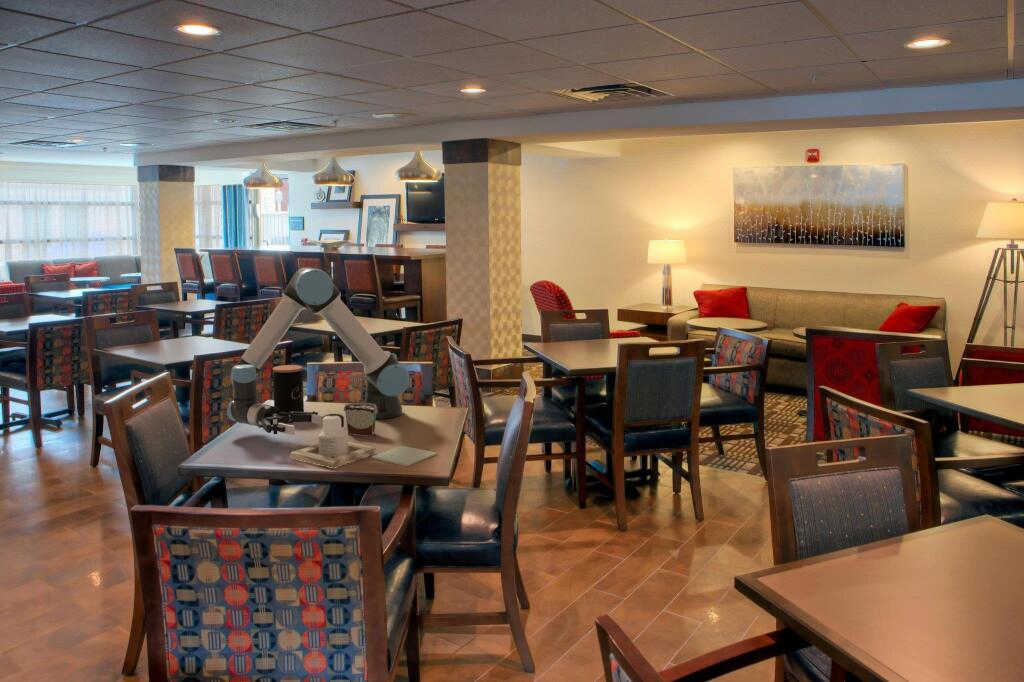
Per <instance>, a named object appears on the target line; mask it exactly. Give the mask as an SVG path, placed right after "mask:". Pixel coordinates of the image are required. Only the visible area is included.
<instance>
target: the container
mask: <svg viewBox="0 0 1024 682" xmlns="http://www.w3.org/2000/svg"><path fill="white" fill-rule="evenodd" d="M322 416H323V417H322V425H321V432H319V435H318V444H319V454H318V455H322V456H326V457H330V458H335V457H338V456H341V455H344V454H347V453H349V452H348V442H349V437H348V436H349V434H348V430H347V428H345V418H344V416H343V414H340V413H328V414H325V415H322Z"/></svg>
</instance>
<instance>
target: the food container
mask: <svg viewBox="0 0 1024 682" xmlns="http://www.w3.org/2000/svg"><path fill="white" fill-rule="evenodd" d="M343 411H344V412H345V420H346V429H347V430H348V435H351V434H356V435H355V436H361V435H364V436H363V437H370V436H373V437H375V433H376V431H375V429H376V420H377V419H376V414H377V413H378V410H377V407H376V405H375V404H371V403H364V402H351V403H347V404H344V407H343Z"/></svg>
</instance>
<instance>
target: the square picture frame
mask: <svg viewBox="0 0 1024 682" xmlns="http://www.w3.org/2000/svg"><path fill="white" fill-rule="evenodd" d="M348 451H349V452H348V453H347V454H344V455H341V456H338V457H335V458H330V457H326V456H322V455H319V454H317V453H319V443H317V444H313V445H310V446H307V447H304V448H303V447H302V448H301V449H297V450H294V451H291V452H290V459H291V458H293V459H292V460H294V459H297V460H296V461H298V460H302V461H306V462H310V463H315V464H320V465H324V466H329V467H333V468H334V467H337V466H340V465H344V464H346V465H348V464H347V463H349V464H351V463H350V462H352V463H354V462H353V461H355V462H357V461H356V460H358V461H360V460H359V459H361V460H363V459H366V458H368V456H369V457H372V456H374V454H375V455H377V447H373V446H369V445H364V444H360V443H355V442H351V441H348ZM371 455H372V456H371ZM365 457H366V458H365ZM362 458H363V459H362ZM302 461H301V462H302ZM306 462H305V463H306ZM310 463H309V464H310ZM344 466H345V465H344Z"/></svg>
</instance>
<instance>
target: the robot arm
mask: <svg viewBox="0 0 1024 682" xmlns="http://www.w3.org/2000/svg"><path fill="white" fill-rule="evenodd" d="M341 295H342V294H341V291H340V290H339V289H338V288H337V286H336V285H335V284H334V282H333V280H332V278H331V277H330V275H329V274H328V273H327V272H326V271H325V270H322V269H320V268H316V267H314V266H305V267H304V266H303V267H302V268H299V269H298V270H296V271H295V273H294V274H293V276H292V277H291V279H290V281H289V282H288V284H287V286H286V287H285V289H284V290H283V291H282V294H281V296H282V298H281V300H280V302H279V303H278V304H277V306H276V307H275V308H274V310H273V311H272V313H271V314H270V315H269V317H268V318H267V320H266V321H265V323H264V324H263V326H262V327H261V329H260V330H259V332H258V333H257V334H256V336H255V337H254V338H253V340H252V342H251V343H250V345H249V346H248V347H247V348H246V350H245V351H244V352H243V355H242V356H241V357H240V359H239V360H238V362H236V364H235V365H233V366H232V368H231V369H230V373H229V379H230V381H231V383H232V396H233V397H232V400H231V401H230V402H229V404H228V406H227V408H226V414H227V417H228V418H229V419H230V420H231V421H234V422H236V423H238V424H245V425H248V426H249V425H250V426H255V427H258V429H263V430H264V431H265V432H266V433H268V434H270V433H272V432H273V433H272V434H273V435H278V433H282V434H286V435H291V436H295V433H296V432H295V429H296V428H295V425H292V424H294V423H306V422H307V423H312V424H316V425H320V426H322V417H323V416H324V415H319V412H317V411H304V412H296V411H289V413H285V412H281V411H280V410H279V408H277V407H275V406H274V405H270V404H265V403H259V402H258V396H257V389H258V388H257V378H258V377H257V375H258V373H259V372H260V370H261V369H262V367H263V366H264V364H265V363H266V362H267V360H268V359H269V357H270V356H271V355H272V353H273V351H274V350H275V348H276V347H277V346H278V344H279V343H280V342H281V341H282V339H283V337H284V336H285V334H286V333H287V331H288V330H289V328H290V327H291V326H292V324H293V323H294V321H295V320H296V319H297V317H298V316H299V314H300V313H301V312H302V311H303V310H306V309H307V308H308V309H309V310H310V311H311V312H312V314H313V315H318V316H319V315H320V316H321V317H322V319H323V320H324V321H325V322H326V323H327V324H328V326H329V327H330V328H331V329H332V331H334V332H335V334H336V335H337V336H338V337H339V339H340V340H341V341H342V342H343V343H344V344H345V346H346V347H347V348H348V349H349V350H350V351H351V352H352V354H353V355H354V356H355V357H356V359H357V360H358V361H359V362H360V364H361V365H362V366H363V367H364V368H363V373H364V374H365V375H364V376H365V397H364V401H363V403H371V404H375V405H376V407H377V410H378V413H377V414H376V420H384V419H392V418H397V417H400V416H402V414H403V407H402V405H401V401H400V399H399V396H400V395H401V394H403V393H404V392H405V391H406V390H407V388H408V387H409V383H410V375H409V371H408V370H407V368H406V367H405V366H403V365H402V364H401V363H400V362H399V361H398V357H397V354H395V353H391V352H390V351H389V350H387V351H386V350H383V349H382V347H381V346H380V345H379V344H378V343H377V341H376V340H375V339H374V338H373V336H371V334H370V333H369V332H368V331H367V329H366V328H365V327H364V326H363V324H362V323H361V322H360V321H359V320H358V319H357V317H356V316H355V315H354V314H353V312H352V311H351V310H350V308H348V306H347V305H346V304H345V303H344V301H343V300H342V299H341Z"/></svg>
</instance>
